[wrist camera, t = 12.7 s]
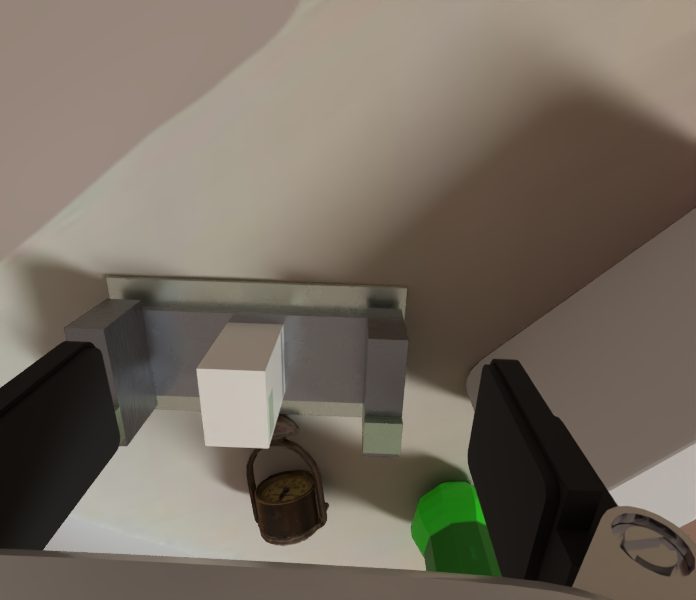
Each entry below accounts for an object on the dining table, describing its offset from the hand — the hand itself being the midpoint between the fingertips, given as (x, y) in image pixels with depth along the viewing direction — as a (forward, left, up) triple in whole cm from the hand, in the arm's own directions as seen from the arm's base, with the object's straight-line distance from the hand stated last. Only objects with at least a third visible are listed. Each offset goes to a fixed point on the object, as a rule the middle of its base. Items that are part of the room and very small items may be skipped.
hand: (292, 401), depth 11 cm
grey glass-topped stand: (+14, -7, -28) cm, 32 cm away
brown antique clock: (+27, -5, -28) cm, 40 cm away
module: (+14, -7, -26) cm, 30 cm away
